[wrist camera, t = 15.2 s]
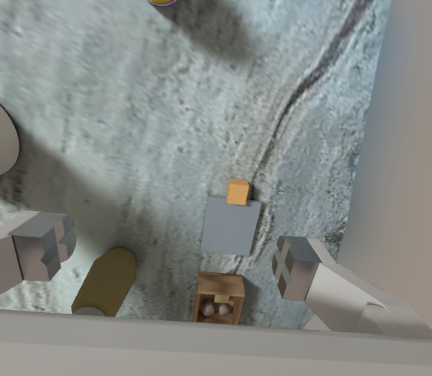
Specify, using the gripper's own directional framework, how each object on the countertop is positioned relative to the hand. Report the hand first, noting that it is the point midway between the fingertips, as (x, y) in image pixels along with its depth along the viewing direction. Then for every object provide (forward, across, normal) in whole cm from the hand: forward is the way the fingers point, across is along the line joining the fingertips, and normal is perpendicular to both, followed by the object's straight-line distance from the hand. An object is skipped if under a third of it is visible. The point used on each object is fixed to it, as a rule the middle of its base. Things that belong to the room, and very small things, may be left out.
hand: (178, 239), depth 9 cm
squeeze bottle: (+29, +13, +27) cm, 42 cm away
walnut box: (+29, -7, +34) cm, 45 cm away
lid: (+29, -7, +15) cm, 34 cm away
